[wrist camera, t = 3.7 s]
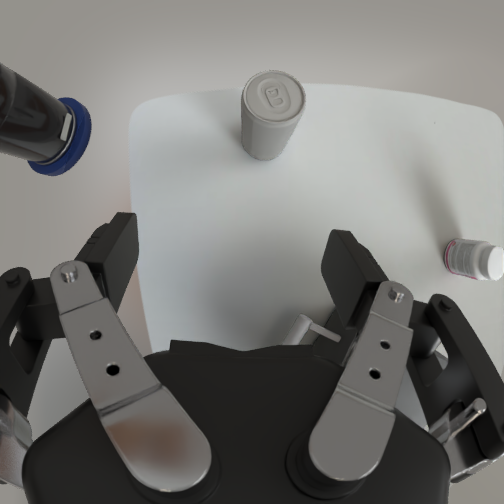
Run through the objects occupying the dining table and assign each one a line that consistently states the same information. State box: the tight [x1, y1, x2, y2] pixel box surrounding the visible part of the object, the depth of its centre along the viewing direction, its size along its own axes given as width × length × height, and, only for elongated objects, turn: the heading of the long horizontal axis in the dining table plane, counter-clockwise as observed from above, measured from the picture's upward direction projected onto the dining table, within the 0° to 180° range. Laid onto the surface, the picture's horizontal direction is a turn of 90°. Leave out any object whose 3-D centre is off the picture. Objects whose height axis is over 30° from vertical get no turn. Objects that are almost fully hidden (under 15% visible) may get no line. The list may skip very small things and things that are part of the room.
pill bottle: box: [445, 239, 504, 281], centre depth 28 cm, size 5×5×8 cm
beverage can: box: [241, 70, 306, 160], centre depth 25 cm, size 5×5×12 cm
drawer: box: [281, 308, 357, 365], centre depth 28 cm, size 17×10×8 cm, turn 62°
